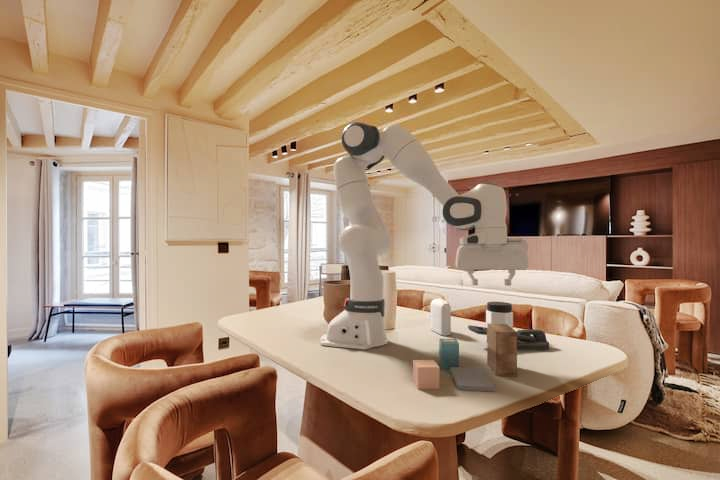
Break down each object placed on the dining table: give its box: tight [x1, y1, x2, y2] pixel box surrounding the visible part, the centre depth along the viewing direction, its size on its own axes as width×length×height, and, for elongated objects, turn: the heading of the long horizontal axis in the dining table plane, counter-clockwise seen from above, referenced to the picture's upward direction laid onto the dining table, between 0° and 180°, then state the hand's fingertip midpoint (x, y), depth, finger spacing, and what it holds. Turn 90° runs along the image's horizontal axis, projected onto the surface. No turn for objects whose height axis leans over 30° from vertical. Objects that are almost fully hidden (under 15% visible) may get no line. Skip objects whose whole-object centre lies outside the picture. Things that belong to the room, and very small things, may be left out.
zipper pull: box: [467, 324, 550, 352], centre depth 114 cm, size 9×7×25 cm
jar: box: [485, 301, 514, 337], centre depth 126 cm, size 9×8×12 cm
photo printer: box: [430, 298, 452, 337], centre depth 132 cm, size 10×4×12 cm, turn 14°
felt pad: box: [449, 366, 495, 392], centre depth 86 cm, size 8×12×1 cm, turn 174°
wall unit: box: [486, 324, 518, 377], centre depth 94 cm, size 5×10×11 cm, turn 174°
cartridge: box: [438, 338, 460, 371], centre depth 95 cm, size 4×4×7 cm
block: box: [412, 359, 441, 390], centre depth 83 cm, size 5×5×5 cm
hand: (491, 285), depth 105 cm, fingers open, 8 cm apart
